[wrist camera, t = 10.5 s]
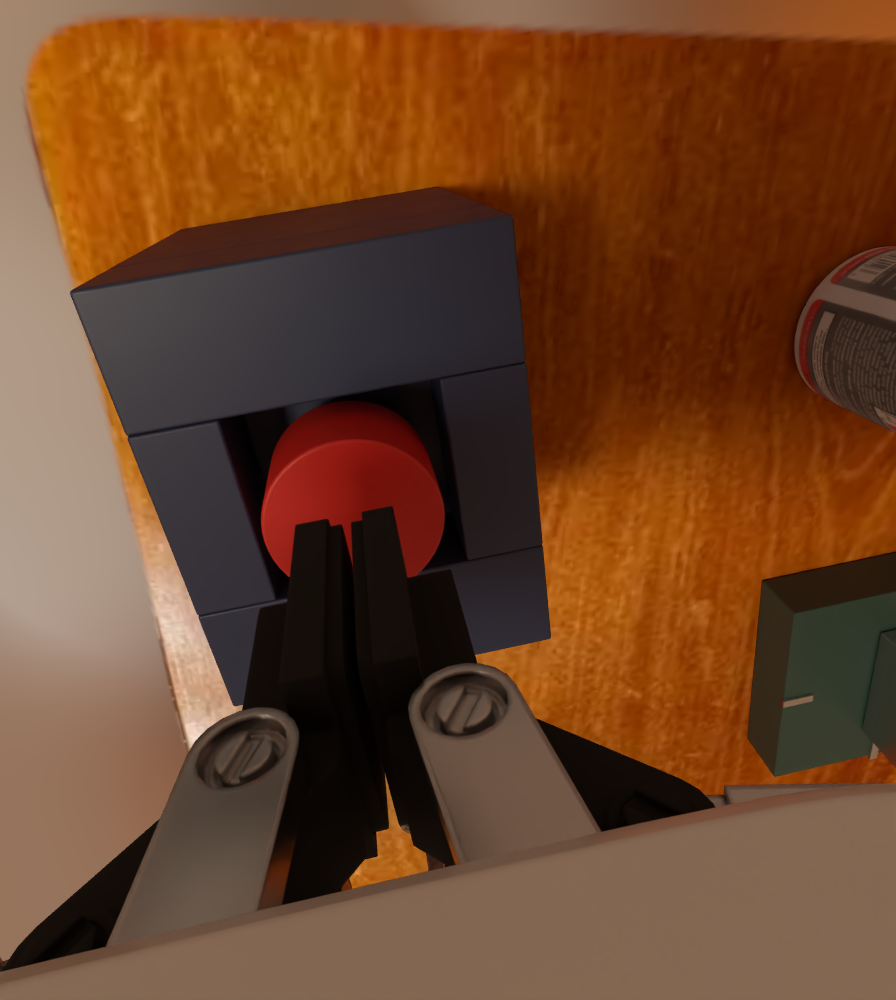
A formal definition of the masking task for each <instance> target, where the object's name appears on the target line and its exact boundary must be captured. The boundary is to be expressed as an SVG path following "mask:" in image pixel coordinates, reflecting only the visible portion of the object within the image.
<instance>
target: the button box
mask: <svg viewBox="0 0 896 1000" xmlns="http://www.w3.org/2000/svg"><path fill="white" fill-rule="evenodd" d="M70 295H71V298H72V300H73V302H74V305H75V307H76V310H77V313H78V315H79V318H80V320H81V323H82V325H83V328H84V330H85V333H86V335H87V338H88V340H89V343H90V345H91V348H92V350H93V353H94V355H95V358H96V361H97V363H98V366H99V368H100V371H101V373H102V376H103V378H104V381H105V383H106V386H107V388H108V391H109V393H110V396H111V398H112V401H113V403H114V406H115V408H116V411H117V413H118V416H119V418H120V421H121V423H122V426H123V428H124V431H125V433H126V435H128V442H129V444H130V447H131V449H132V452H133V454H134V457H135V459H136V462H137V464H138V467H139V469H140V472H141V474H142V477H143V479H144V482H145V484H146V487H147V489H148V492H149V494H150V497H151V499H152V502H153V504H154V507H155V509H156V512H157V514H158V517H159V519H160V522H161V525H162V527H163V530H164V532H165V535H166V537H167V540H168V542H169V545H170V547H171V550H172V552H173V555H174V557H175V560H176V562H177V565H178V567H179V570H180V572H181V575H182V577H183V580H184V582H185V585H186V587H187V590H188V592H189V595H190V597H191V600H192V603H193V605H194V608H195V610H196V613H197V614H198V615H199V620H200V623H201V625H202V628H203V630H204V633H205V635H206V638H207V640H208V643H209V645H210V648H211V650H212V653H213V655H214V658H215V660H216V663H217V665H218V668H219V670H220V673H221V676H222V678H223V681H224V683H225V686H226V688H227V691H228V693H229V696H230V698H231V701H232V703H233V705H234V706H239V705H243V703H244V697H245V691H246V685H247V679H248V673H249V667H250V661H251V655H252V649H253V643H254V637H255V631H256V625H257V619H258V614H259V610H260V609H261V608H262V607H266V606H271V605H276V604H281V603H286V602H287V598H288V588H289V579H290V577H288V576H287V575H286V574H285V573H284V572H283V571H282V570H281V569H280V568H279V566H278V565H277V564H276V563H275V561H274V560H273V558H272V557H271V555H270V553H269V551H268V549H267V547H266V544H265V542H264V538H263V534H262V528H261V512H262V505H263V500H264V495H265V489H266V484H267V479H268V474H269V469H270V464H271V459H272V455H273V452H274V449H275V447H276V444H277V443H278V441H279V439H280V437H281V436H282V434H283V433H284V432H285V430H286V429H287V428H288V427H289V426H290V425H291V424H292V423H293V422H294V421H295V420H296V419H298V418H299V417H300V416H302V415H303V414H305V413H306V412H308V411H310V410H312V409H314V408H316V407H319V406H321V405H324V404H328V403H332V402H338V401H364V402H370V403H374V404H378V405H380V406H383V407H385V408H388V409H390V410H392V411H394V412H395V413H397V414H399V415H400V416H401V417H403V418H404V419H405V420H407V421H408V422H409V423H410V424H411V425H412V426H413V427H414V429H415V430H416V431H417V432H418V434H419V435H420V437H421V438H422V440H423V442H424V444H425V446H426V449H427V451H428V454H429V457H430V460H431V463H432V467H433V470H434V473H435V476H436V479H437V482H438V486H439V489H440V492H441V495H442V499H443V503H444V512H445V522H444V529H443V534H442V538H441V540H440V543H439V546H438V548H437V550H436V552H435V553H434V555H433V557H432V558H431V560H430V561H429V562H428V564H427V565H426V566H425V567H424V568H423V569H422V570H421V572H419V573H418V574H417V575H416V576H418V575H423V574H428V573H433V572H438V571H443V570H448V569H451V571H452V575H453V578H454V582H455V585H456V589H457V592H458V596H459V600H460V603H461V607H462V610H463V614H464V617H465V621H466V625H467V628H468V632H469V635H470V639H471V643H472V646H473V650H474V653H475V655H477V654H481V653H486V652H491V651H495V650H500V649H505V648H509V647H514V646H519V645H523V644H528V643H533V642H537V641H542V640H547V639H550V638H551V632H550V621H549V610H548V598H547V587H546V576H545V565H544V554H543V546H542V532H541V521H540V510H539V498H538V487H537V476H536V465H535V454H534V443H533V432H532V421H531V409H530V398H529V387H528V376H527V365H526V363H525V362H524V361H525V359H526V355H525V344H524V333H523V322H522V311H521V299H520V288H519V277H518V266H517V255H516V244H515V233H514V222H513V217H512V215H509V214H506V213H504V212H501V211H499V210H496V209H493V208H491V207H488V206H486V205H484V204H482V203H479V202H476V201H474V200H471V199H468V198H466V197H463V196H461V195H458V194H455V193H453V192H450V191H447V190H445V189H442V188H440V187H432V188H426V189H420V190H414V191H408V192H402V193H396V194H390V195H384V196H378V197H372V198H366V199H360V200H354V201H348V202H342V203H336V204H331V205H325V206H319V207H313V208H307V209H301V210H295V211H289V212H283V213H277V214H271V215H265V216H259V217H253V218H247V219H241V220H235V221H229V222H223V223H217V224H211V225H205V226H199V227H193V228H187V229H181V230H179V231H177V232H176V233H174V234H172V235H170V236H168V237H166V238H165V239H163V240H161V241H159V242H157V243H156V244H154V245H152V246H150V247H148V248H147V249H145V250H143V251H141V252H139V253H137V254H136V255H134V256H132V257H130V258H128V259H127V260H125V261H123V262H121V263H119V264H117V265H116V266H114V267H112V268H111V269H109V270H107V271H106V272H104V273H102V274H100V275H98V276H96V277H95V278H93V279H91V280H89V281H87V282H86V283H84V284H82V285H80V286H78V287H77V288H75V289H73V290H72V291H70Z"/></svg>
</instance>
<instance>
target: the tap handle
mask: <svg viewBox="0 0 896 1000" xmlns="http://www.w3.org/2000/svg"><path fill="white" fill-rule="evenodd" d="M862 731H863V732H864V733H865V734H866V736H867V737H868V738H869V739H870V740H871V741H872V742H873V743H874V744H875V745H876V747H877V748H878V749H879V750H880V751H881V752H882V753H883V754H884V755H885V756H886V758H887V759H888V760H889V761H890V762H891V763H892V764H893V765H894V766H895V767H896V630H892V631H887V632H883V633H881V636H880V641H879V646H878V651H877V656H876V661H875V667H874V672H873V677H872V682H871V687H870V692H869V697H868V703H867V708H866V713H865V718H864V723H863V728H862Z"/></svg>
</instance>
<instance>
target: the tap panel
mask: <svg viewBox="0 0 896 1000" xmlns="http://www.w3.org/2000/svg"><path fill="white" fill-rule="evenodd" d="M892 630H896V553H891V554H887V555H882V556H877V557H873V558H868V559H863V560H859V561H854V562H849V563H845V564H840V565H835V566H830V567H826V568H821V569H816V570H812V571H807V572H802V573H798V574H793V575H788V576H784V577H779V578H774V579H769V580H765V581H762V588H761V599H760V610H759V620H758V631H757V642H756V652H755V663H754V674H753V684H752V695H751V706H750V716H749V727H748V740H749V741H750V743H751V744H752V746H753V747H754V748H755V750H756V751H757V753H758V754H759V756H760V757H761V758H762V760H763V761H764V763H765V764H766V766H767V767H768V768H769V770H770V771H771V773H772V774H773V775H774V776H775V777H776V776H781V775H785V774H789V773H793V772H798V771H802V770H806V769H811V768H815V767H819V766H823V765H828V764H832V763H836V762H841V761H845V760H849V759H854V758H858V757H862V756H866V755H868V758H869V759H870V760H871V759H875V758H877V754H878V753H879V752H881V751H880V750H879V749H878V748H877V747H876V745H875V744H874V743H873V742H872V741H871V740H870V739H869V738H868V737H867V736H866V734H865V733H864V732H863V731H862V728H863V723H864V718H865V713H866V708H867V703H868V697H869V692H870V687H871V682H872V677H873V672H874V667H875V661H876V656H877V651H878V646H879V641H880V636H881V633H883V632H887V631H892Z"/></svg>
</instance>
